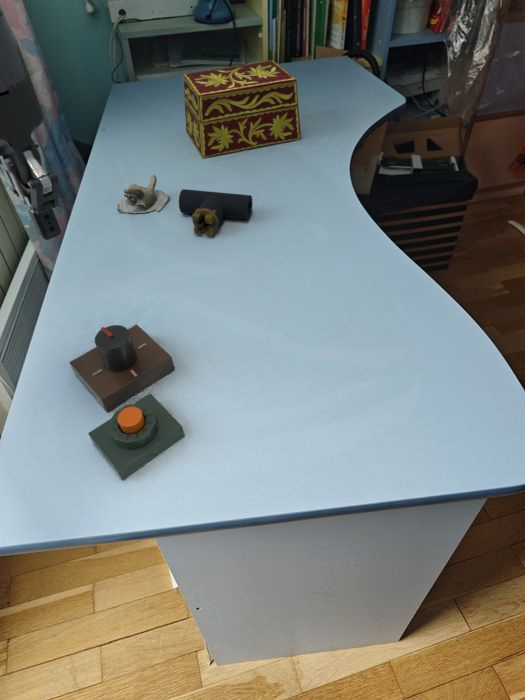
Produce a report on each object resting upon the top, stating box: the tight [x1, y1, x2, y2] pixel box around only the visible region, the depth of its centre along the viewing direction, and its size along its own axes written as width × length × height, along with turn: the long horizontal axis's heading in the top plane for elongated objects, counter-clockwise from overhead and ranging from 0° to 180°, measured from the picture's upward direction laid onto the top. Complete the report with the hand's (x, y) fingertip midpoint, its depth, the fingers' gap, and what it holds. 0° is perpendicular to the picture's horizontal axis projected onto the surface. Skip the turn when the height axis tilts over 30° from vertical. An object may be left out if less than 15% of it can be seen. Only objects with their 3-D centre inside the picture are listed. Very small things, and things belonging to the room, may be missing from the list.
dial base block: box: [69, 324, 176, 413], centre depth 74 cm, size 12×10×3 cm
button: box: [118, 407, 145, 434], centre depth 64 cm, size 3×3×2 cm
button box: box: [87, 392, 186, 481], centre depth 66 cm, size 10×8×4 cm
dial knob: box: [94, 324, 137, 372], centre depth 72 cm, size 5×5×5 cm
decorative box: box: [182, 59, 302, 159], centre depth 128 cm, size 28×19×15 cm
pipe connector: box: [178, 188, 254, 237], centre depth 102 cm, size 12×5×15 cm
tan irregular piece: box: [117, 174, 171, 214], centre depth 108 cm, size 10×12×6 cm
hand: (50, 234), depth 58 cm, fingers closed
